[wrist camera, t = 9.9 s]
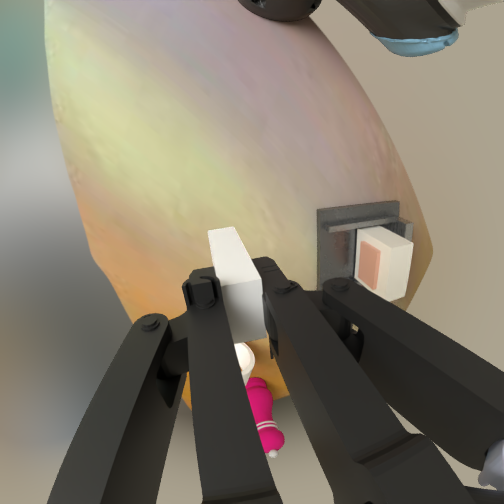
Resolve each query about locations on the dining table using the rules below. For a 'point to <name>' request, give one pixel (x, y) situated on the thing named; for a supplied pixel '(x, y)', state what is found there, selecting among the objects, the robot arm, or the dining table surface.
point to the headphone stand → (245, 360)
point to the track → (351, 235)
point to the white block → (383, 262)
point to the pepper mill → (264, 416)
